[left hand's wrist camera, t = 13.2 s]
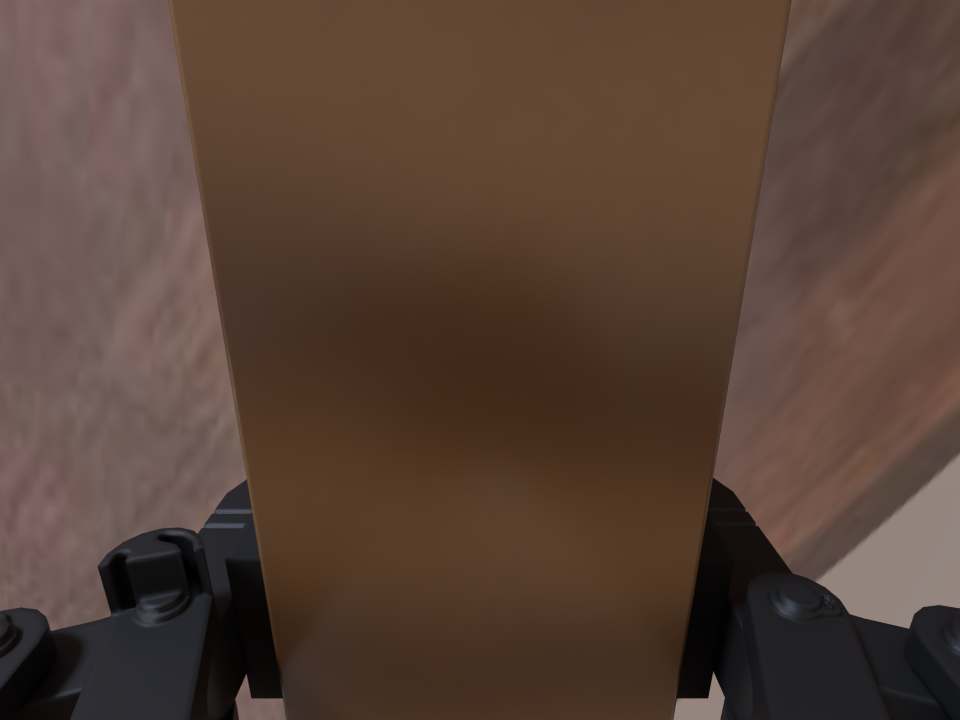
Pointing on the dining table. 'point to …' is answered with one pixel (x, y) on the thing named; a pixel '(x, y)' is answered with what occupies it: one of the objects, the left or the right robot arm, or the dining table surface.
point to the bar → (479, 331)
